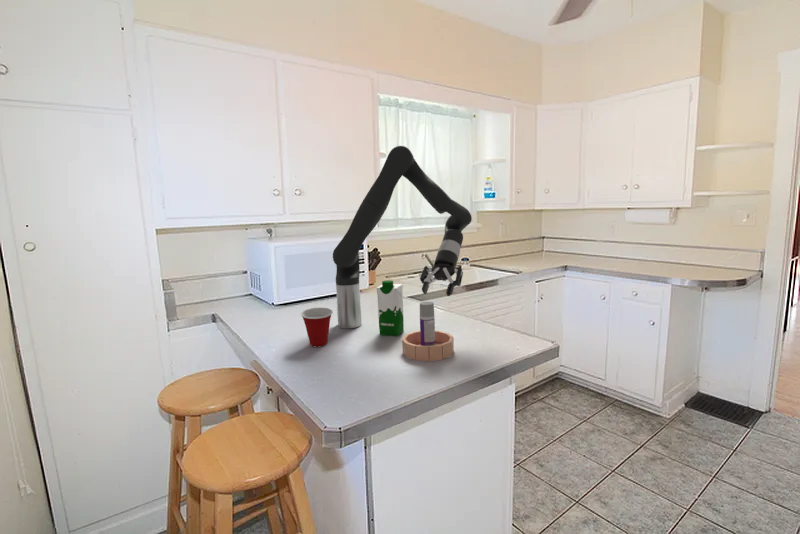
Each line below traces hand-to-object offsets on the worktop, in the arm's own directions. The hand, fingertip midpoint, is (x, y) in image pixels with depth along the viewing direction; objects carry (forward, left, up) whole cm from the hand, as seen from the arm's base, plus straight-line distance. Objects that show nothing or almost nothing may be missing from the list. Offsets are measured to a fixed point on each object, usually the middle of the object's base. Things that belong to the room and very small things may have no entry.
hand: (435, 293), depth 134 cm
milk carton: (-12, +17, -18) cm, 27 cm away
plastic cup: (-39, +13, -18) cm, 45 cm away
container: (-5, -6, -16) cm, 18 cm away
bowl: (-5, -6, -17) cm, 19 cm away
